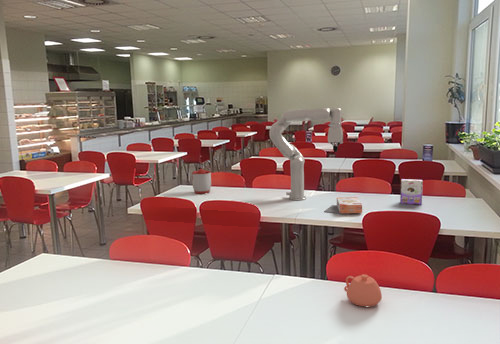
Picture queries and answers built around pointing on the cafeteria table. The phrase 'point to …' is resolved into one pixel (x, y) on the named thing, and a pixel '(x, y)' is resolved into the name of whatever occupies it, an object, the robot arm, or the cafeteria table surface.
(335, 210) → the mat
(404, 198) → the candy box
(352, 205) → the cracker box
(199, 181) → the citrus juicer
